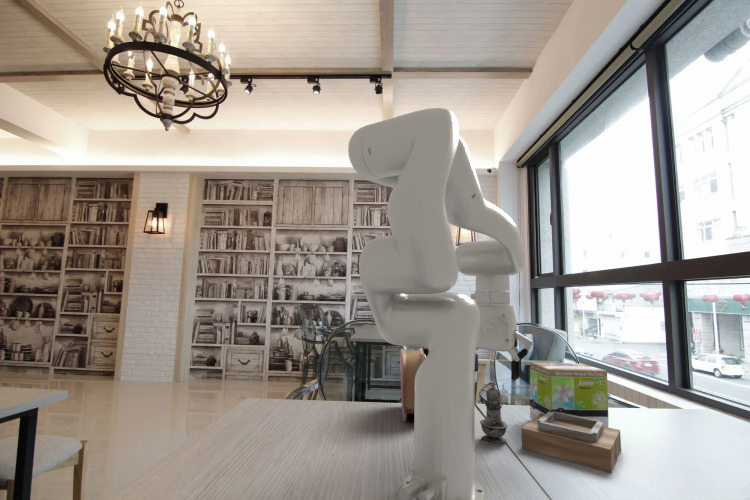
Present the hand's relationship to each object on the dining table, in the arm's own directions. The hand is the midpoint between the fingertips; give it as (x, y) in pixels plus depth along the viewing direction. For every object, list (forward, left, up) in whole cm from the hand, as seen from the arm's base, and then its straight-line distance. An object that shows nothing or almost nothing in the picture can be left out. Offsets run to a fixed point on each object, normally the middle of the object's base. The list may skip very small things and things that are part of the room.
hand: (494, 375), depth 84 cm
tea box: (+22, -10, -14) cm, 28 cm away
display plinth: (+6, -14, -14) cm, 21 cm away
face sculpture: (+1, +23, -14) cm, 27 cm away
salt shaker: (-1, 0, -14) cm, 14 cm away
